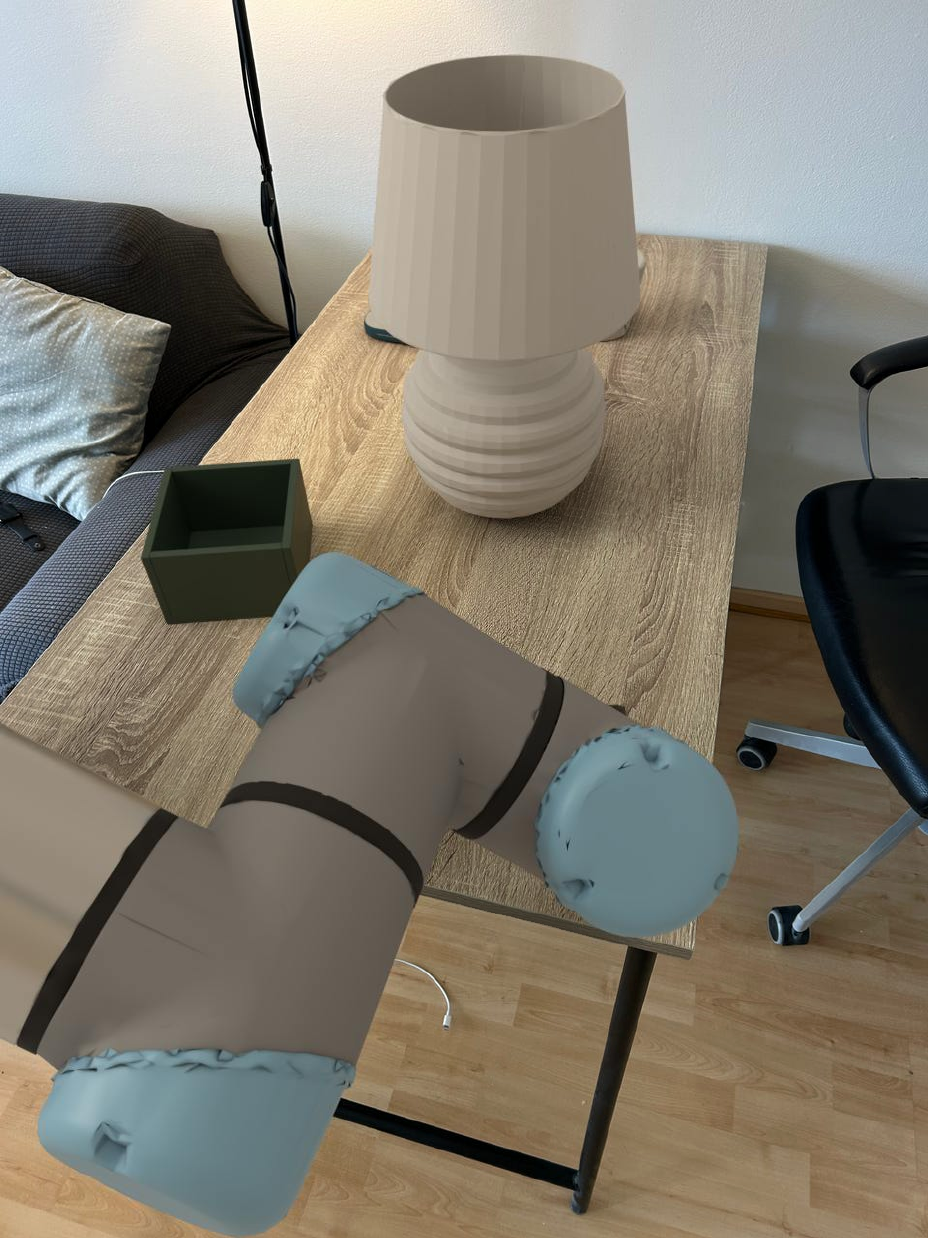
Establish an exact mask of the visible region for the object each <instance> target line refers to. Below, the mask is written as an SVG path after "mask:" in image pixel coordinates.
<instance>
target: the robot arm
mask: <svg viewBox="0 0 928 1238" xmlns="http://www.w3.org/2000/svg"><path fill="white" fill-rule="evenodd" d="M231 696H232V699H233V703H234V704H235V707H237V709H238V710H239V711H240V712H242V713H243V714H244V715H246V716H247V717H249V718H250V719H251V720H253V721H254V722H255V724H256V726H257V728H258V729H260V732H259V734H258V736H257V738H256V740H255V742H254V743H253V745H252V747H251V749H250V751H249V753H248V754H247V756H246V758H245V760H244V762H243V763H242V766H241V767H240V769H239V771H238V773H237V775H236V776H235V779H234V780H233V782H232V784H231V786H230V787H229V790H228V791H227V794H225V797H224V798H223V800H222V802H221V804H220V805H219V807H218V809H217V811H216V812H215V814H214V815H213V817H212V819H211V821H210V822H209V823H208V824H207V826H206V827H204V826H202V825H200V824H197V823H195V822H193V821H191V820H188V819H186V818H184V817H182V816H179V815H176V814H175V813H173V812H171V811H169V810H166V809H165V808H163V806H162V805H161V804H158V803H157V802H154V801H152V800H151V799H149V798H146V797H145V796H143V795H141V794H140V793H137V792H135V791H133V790H132V789H129V788H128V787H126V786H125V785H121V784H119V783H118V782H116V781H113V780H112V779H110V778H108V777H106V776H104V775H102V774H100V773H99V772H96V771H94V770H93V769H91V768H89V767H87V766H85V765H83V764H81V763H79V762H77V761H76V760H74V759H72V758H70V757H68V756H66V755H64V754H62V753H60V752H58V751H56V750H54V749H53V748H51V747H48V746H46V745H45V744H42V743H41V742H39V741H37V740H35V739H33V738H31V737H29V736H27V735H25V734H24V733H21V732H19V731H18V730H15V729H13V728H12V727H10V726H8V725H6V724H4V723H2V722H0V1040H3V1041H5V1042H7V1043H8V1044H11V1045H13V1046H16V1047H17V1048H20V1049H22V1050H24V1051H27V1052H28V1053H30V1054H33V1055H35V1056H37V1055H38V1056H39V1057H40V1058H42V1059H43V1060H44V1061H46V1062H47V1063H48V1064H49V1065H51V1067H53V1069H55V1070H57V1072H56V1073H55V1074H54V1075H53V1076H52V1077H51V1078H50V1080H51V1081H52V1087H51V1090H50V1093H49V1094H48V1096H47V1098H46V1100H45V1102H44V1104H43V1105H42V1108H41V1110H40V1112H39V1115H38V1118H37V1131H36V1133H37V1137H38V1140H39V1143H40V1145H41V1148H43V1149H44V1151H46V1153H48V1154H49V1155H50V1156H51V1157H53V1158H54V1159H55V1160H58V1161H59V1162H60V1163H62V1164H64V1165H65V1166H67V1167H68V1168H70V1169H72V1170H74V1171H76V1172H77V1173H79V1174H81V1175H84V1176H87V1177H90V1178H92V1179H93V1180H96V1181H98V1182H99V1183H100V1184H102V1185H104V1186H106V1187H108V1188H110V1189H111V1190H114V1191H116V1192H117V1193H119V1194H121V1195H123V1196H125V1197H127V1198H129V1199H132V1200H134V1201H136V1202H138V1203H140V1204H143V1205H144V1206H146V1207H149V1208H151V1209H154V1210H156V1211H158V1212H160V1213H163V1214H166V1215H168V1216H170V1217H172V1218H175V1219H177V1220H180V1221H182V1222H185V1223H188V1224H191V1225H193V1226H195V1227H198V1228H201V1229H203V1230H205V1231H206V1230H207V1231H210V1232H212V1233H216V1234H219V1235H221V1236H227V1237H231V1238H244V1237H253V1236H258V1235H261V1234H264V1233H266V1232H268V1231H269V1230H271V1229H273V1228H274V1227H275V1226H277V1225H278V1224H280V1223H281V1222H282V1221H283V1220H284V1219H285V1218H287V1215H288V1213H289V1212H290V1211H291V1209H292V1208H293V1206H294V1205H295V1204H296V1201H297V1199H298V1197H299V1195H300V1193H301V1190H302V1187H303V1185H304V1183H305V1181H306V1178H307V1177H308V1174H309V1172H310V1169H311V1168H312V1164H313V1163H314V1160H315V1158H316V1155H317V1153H318V1151H319V1148H320V1146H321V1144H322V1142H323V1139H324V1137H325V1135H326V1132H327V1130H328V1127H329V1125H330V1124H331V1121H332V1119H333V1116H334V1114H335V1112H336V1110H337V1108H338V1105H339V1102H340V1101H341V1098H342V1096H343V1094H344V1092H345V1091H346V1090H349V1089H350V1088H352V1086H353V1084H354V1083H355V1079H356V1074H357V1073H356V1072H357V1069H358V1068H357V1064H358V1061H359V1058H360V1055H361V1053H362V1050H363V1047H364V1045H365V1042H366V1040H367V1037H368V1034H369V1031H370V1028H371V1026H372V1024H373V1019H374V1017H375V1015H376V1012H377V1009H378V1007H379V1005H380V1002H381V998H382V996H383V993H384V990H385V988H386V985H387V982H388V980H389V977H390V974H391V971H392V968H393V966H394V963H395V960H396V958H397V955H398V952H399V950H400V947H401V944H402V941H403V939H404V936H405V933H406V930H407V927H408V925H409V922H410V919H411V917H412V914H413V911H414V909H415V908H416V905H417V903H418V900H419V898H420V895H421V893H422V892H423V890H424V887H425V884H426V881H427V879H428V877H429V873H430V871H431V868H432V867H433V863H434V861H435V858H436V856H437V853H438V852H439V851H438V850H439V848H440V845H441V843H442V840H443V837H444V835H445V833H446V830H447V829H449V830H450V831H452V832H454V833H455V834H457V835H459V836H461V837H463V838H465V839H467V840H470V841H472V842H474V843H475V844H477V845H479V846H480V847H482V848H484V849H486V850H488V851H490V852H492V853H493V854H495V855H496V856H498V857H501V858H502V859H504V860H505V861H507V862H509V863H511V864H513V865H515V866H516V867H518V868H520V869H522V870H523V871H525V872H527V873H529V874H530V875H533V877H536V878H538V880H540V881H542V882H544V885H545V887H546V888H547V889H548V890H550V891H552V893H553V895H554V899H555V900H556V902H557V903H559V904H560V905H561V906H563V907H565V908H566V909H568V910H569V911H571V912H574V913H576V914H577V915H578V916H579V917H581V918H582V919H583V920H584V921H585V922H587V923H588V924H591V925H592V926H593V927H595V928H597V929H599V930H601V931H603V932H606V933H608V934H611V935H616V936H618V937H625V938H633V939H635V938H638V939H642V938H651V937H652V938H653V937H658V936H662V935H666V934H669V933H672V932H674V931H677V930H679V929H681V928H683V927H686V926H687V925H688V924H690V923H692V922H693V921H695V920H696V919H697V918H698V917H700V916H701V915H703V914H704V913H705V912H706V911H707V910H708V909H709V908H710V907H711V906H712V904H713V903H715V900H716V899H717V898H718V896H720V893H722V891H723V890H724V889H725V887H726V886H727V885H728V881H729V879H730V876H731V874H732V872H733V869H734V867H735V863H736V859H737V856H738V852H739V851H738V850H739V839H740V824H739V823H740V822H739V817H738V812H737V808H736V803H735V800H734V798H733V795H732V792H731V790H730V787H729V785H728V784H727V782H726V780H725V779H724V777H723V775H722V774H721V773H720V771H719V770H718V769H717V768H716V767H715V765H714V764H712V762H711V761H709V760H708V759H707V758H706V757H705V756H704V755H703V754H701V753H700V752H698V751H697V750H696V749H694V748H692V747H691V746H690V745H689V744H688V743H687V742H685V741H684V740H682V739H678V738H675V737H674V736H673V735H672V734H671V733H670V732H669V731H667V730H665V729H663V728H660V727H657V726H655V725H651V726H648V727H647V726H646V725H643V724H641V723H639V722H637V721H636V720H634V719H632V718H631V717H629V716H627V712H626V707H625V705H619V704H608V703H605V702H604V701H603V700H601V699H599V698H597V697H596V696H594V695H592V694H590V693H589V692H587V691H586V690H585V689H582V688H581V687H580V686H577V685H576V684H575V683H573V682H570V681H569V680H567V678H564V677H562V676H560V675H555V674H554V673H553V672H551V671H549V670H547V669H545V668H544V667H540V666H538V665H537V664H535V663H534V662H532V661H530V660H528V659H527V658H525V657H524V656H522V655H521V654H519V653H518V652H516V651H514V650H513V649H511V648H509V647H507V646H506V645H505V644H503V643H501V642H499V641H498V640H497V639H494V637H491V636H490V635H489V634H487V633H486V632H484V631H483V630H481V629H479V628H478V627H476V626H474V625H473V624H471V623H469V622H468V621H467V620H465V619H463V618H462V617H460V616H459V615H458V614H456V613H454V611H451V610H450V609H448V608H447V607H445V606H443V605H442V604H441V603H439V602H437V601H435V600H434V599H432V598H431V597H429V596H428V595H427V593H426V592H425V591H424V590H423V589H421V588H419V587H417V586H414V585H411V584H408V583H406V582H404V581H402V580H401V579H399V578H397V577H396V576H393V575H391V574H389V573H388V572H387V571H384V570H382V569H381V568H378V567H376V566H375V565H372V564H368V563H366V562H364V561H362V560H359V559H358V558H356V557H353V556H351V555H349V554H347V553H344V552H340V551H330V552H325V553H322V554H319V555H318V556H316V557H313V558H312V559H310V562H309V563H308V564H307V565H306V567H305V568H304V569H303V570H302V572H301V573H300V575H299V576H298V578H297V579H296V581H295V582H294V584H293V585H292V587H291V588H290V590H289V591H288V593H287V594H286V596H285V597H284V599H283V601H282V602H281V604H280V606H279V607H278V609H277V611H276V613H275V614H274V616H273V617H271V619H270V621H269V622H268V623H267V625H266V627H265V628H264V630H263V631H262V633H261V634H260V636H259V638H258V640H257V641H256V643H255V645H253V648H252V650H251V651H250V653H249V655H248V657H247V659H246V661H244V664H243V666H242V668H241V670H240V672H239V674H238V676H237V678H236V680H235V682H234V684H233V687H232V695H231Z"/></svg>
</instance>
